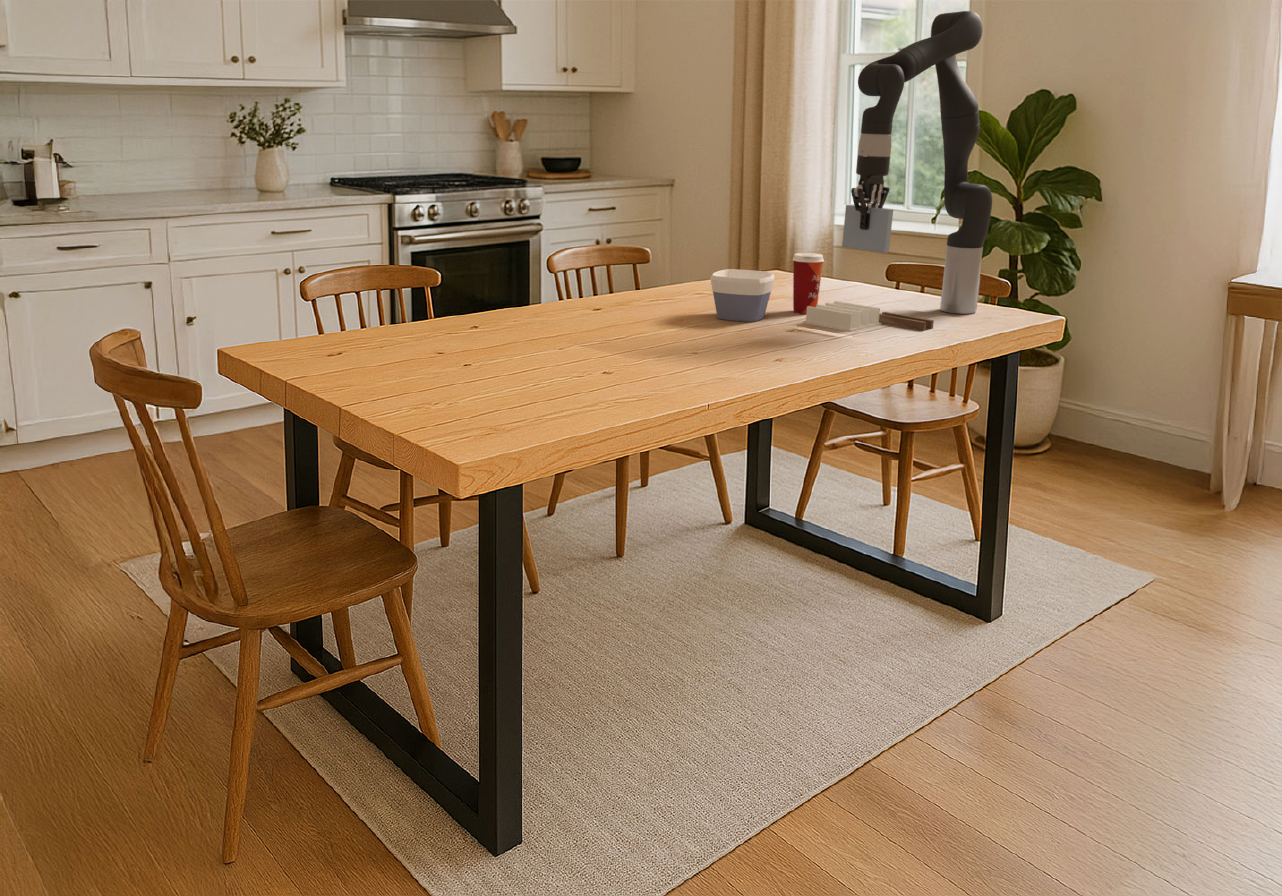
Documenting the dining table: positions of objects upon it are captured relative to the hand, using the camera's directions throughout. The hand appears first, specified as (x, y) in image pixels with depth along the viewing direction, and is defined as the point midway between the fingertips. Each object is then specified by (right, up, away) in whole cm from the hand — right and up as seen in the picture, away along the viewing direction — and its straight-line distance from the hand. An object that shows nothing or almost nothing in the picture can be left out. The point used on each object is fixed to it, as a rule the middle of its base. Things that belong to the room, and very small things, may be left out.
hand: (866, 229), depth 260 cm
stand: (+10, -23, +7) cm, 26 cm away
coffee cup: (-11, -17, +26) cm, 33 cm away
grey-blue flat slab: (0, -5, +1) cm, 5 cm away
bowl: (-28, -19, +17) cm, 39 cm away
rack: (-4, -22, +8) cm, 24 cm away
